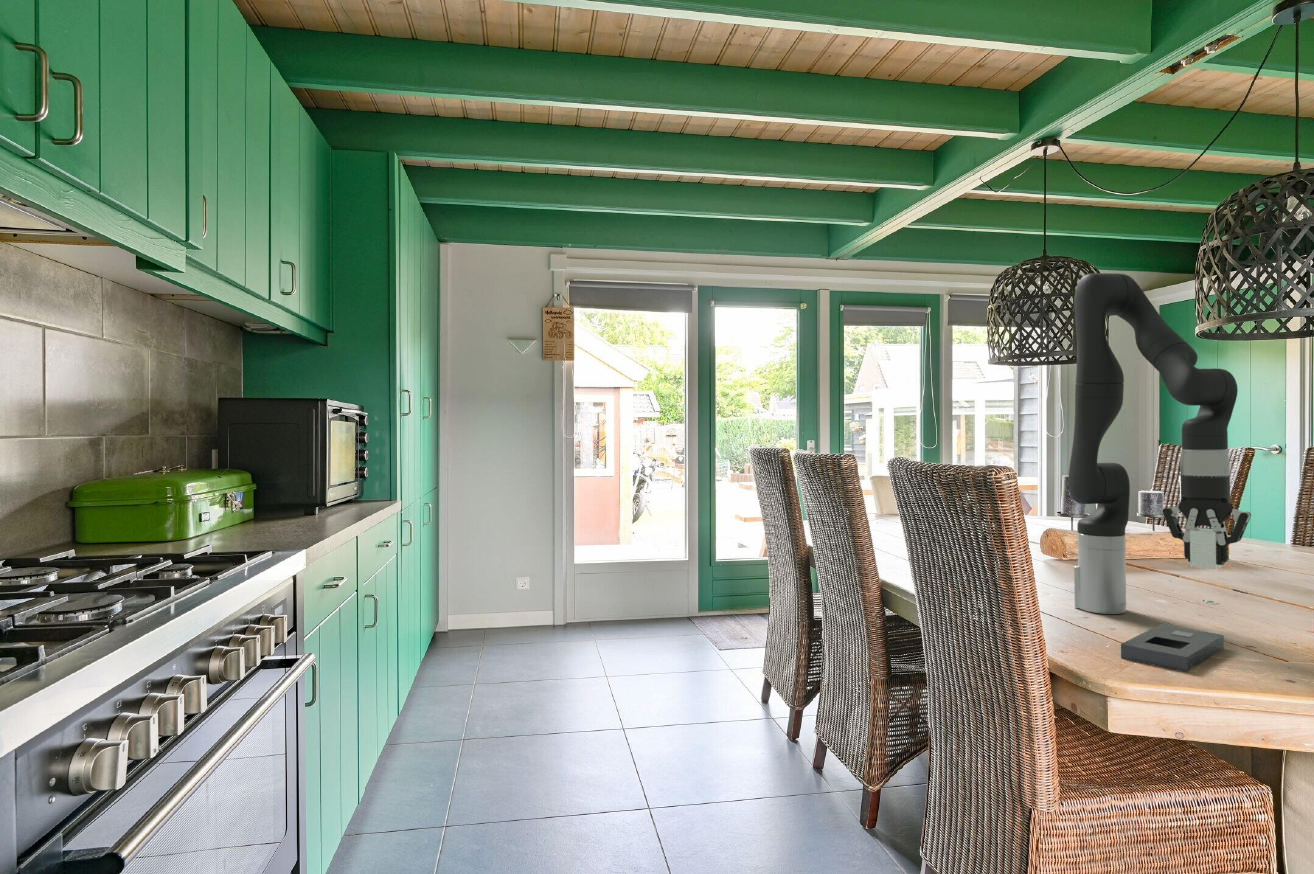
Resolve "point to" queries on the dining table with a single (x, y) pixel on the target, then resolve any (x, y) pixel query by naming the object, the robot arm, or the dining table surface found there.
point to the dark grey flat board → (1172, 647)
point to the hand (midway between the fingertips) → (1206, 562)
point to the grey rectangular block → (1203, 549)
